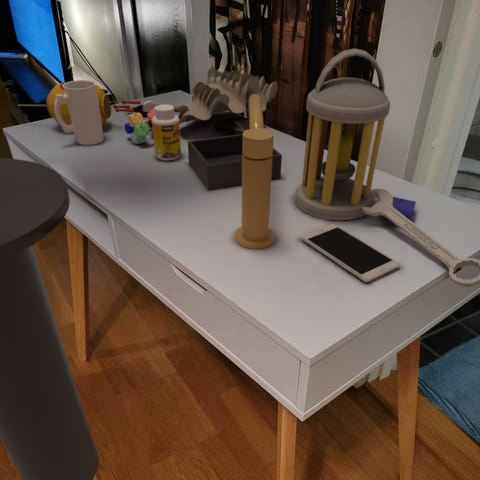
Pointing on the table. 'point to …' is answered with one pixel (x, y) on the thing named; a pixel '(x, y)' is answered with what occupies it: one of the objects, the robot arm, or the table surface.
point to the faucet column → (255, 204)
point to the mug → (81, 111)
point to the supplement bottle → (166, 133)
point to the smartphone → (350, 252)
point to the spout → (257, 132)
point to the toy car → (232, 125)
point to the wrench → (420, 236)
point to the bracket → (402, 208)
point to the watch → (145, 108)
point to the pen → (176, 108)
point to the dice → (137, 128)
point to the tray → (223, 161)
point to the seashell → (226, 94)
